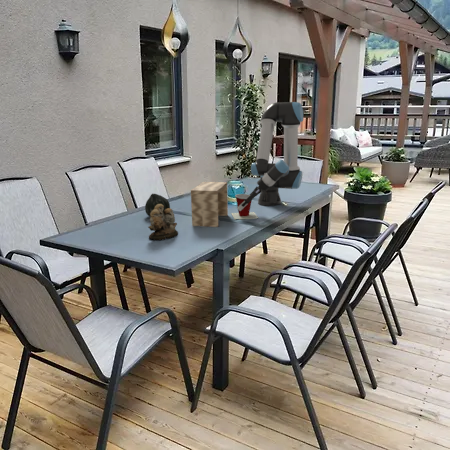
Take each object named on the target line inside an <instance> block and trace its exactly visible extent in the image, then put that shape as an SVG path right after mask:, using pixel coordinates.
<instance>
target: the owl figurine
mask: <svg viewBox="0 0 450 450" xmlns="http://www.w3.org/2000/svg"><path fill="white" fill-rule="evenodd" d="M163 209H164V206H163V205H162V204H157V205H156V206H155V208H154V210H153V211H151V213H150V216H151V217H150V216H149V222H150V225H149V226H147V228H148V229H149V230H150V231H153V232H151V233H150V234H149V235H148V239H150V240H153V241H164V240H170V239H173V238H176V237H177V236H178V235H179V232H178V230H177V229H176V226H177V225H178V223H177V222H176V217H175V213H174V212H173V211H174V210H173V209H172V208H171V207H170V208H167V209H165V210H164V212H163Z"/></svg>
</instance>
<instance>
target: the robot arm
mask: <svg viewBox="0 0 450 450" xmlns="http://www.w3.org/2000/svg"><path fill="white" fill-rule="evenodd" d="M303 121H304V109H303V105H302V104H301V102H297V101H290V102H289V101H287V102H286V101H284V102H283V101H282V102H279V101H278V102H272V103H271V104H270V105H269V106H267V108H266V109H265V110H264V112H263V113H262V115H261V119H260V125H261V128H260V134H259V142H258V147H257V153H256V160H255V162H252V163H251V166H250V173H251V174H252V176H258V177H259V176H260V179H259V180H257V182H256V184H257V185H258V186H256V187H255V188H254V189H253V190H252V191H251V192H250V193H249V195H250V196H249V197H248V198H247V199H244V201H243V202H242V203H241V204H240V205H239V206H238V207H236V209H237V211H238V210H239V211H241V210H242V209H243V208H244V207H245V206H246V205H247V204H248V203H249V202H250V201H251V200H252V201H253V199H255V198H256V197H257V196H258V195H259V196H258V200H257V204H258V205H260V206H265V207H266V206H268V207H269V206H271V207H273V206H279V205H281V204H282V199H281V195H280V193H279V189H285V190H287V189H289V190H297V189H299V188H300V187H301V184H302V179H303V171H302V170H301V168H300V166H299V165H298V153H299V152H298V147H299V146H298V145H299V143H298V142H299V140H298V139H299V138H298V137H299V127H300V126H301V123H303ZM280 122H281V126H282V127H283V159H279V160H278V161H277V162H276V163H270V161H269V160H270V155H271V149H272V143H273V142H272V141H273V138H274V137H273V136H274V130H275V126H277V123H280ZM252 201H251V202H252Z"/></svg>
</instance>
